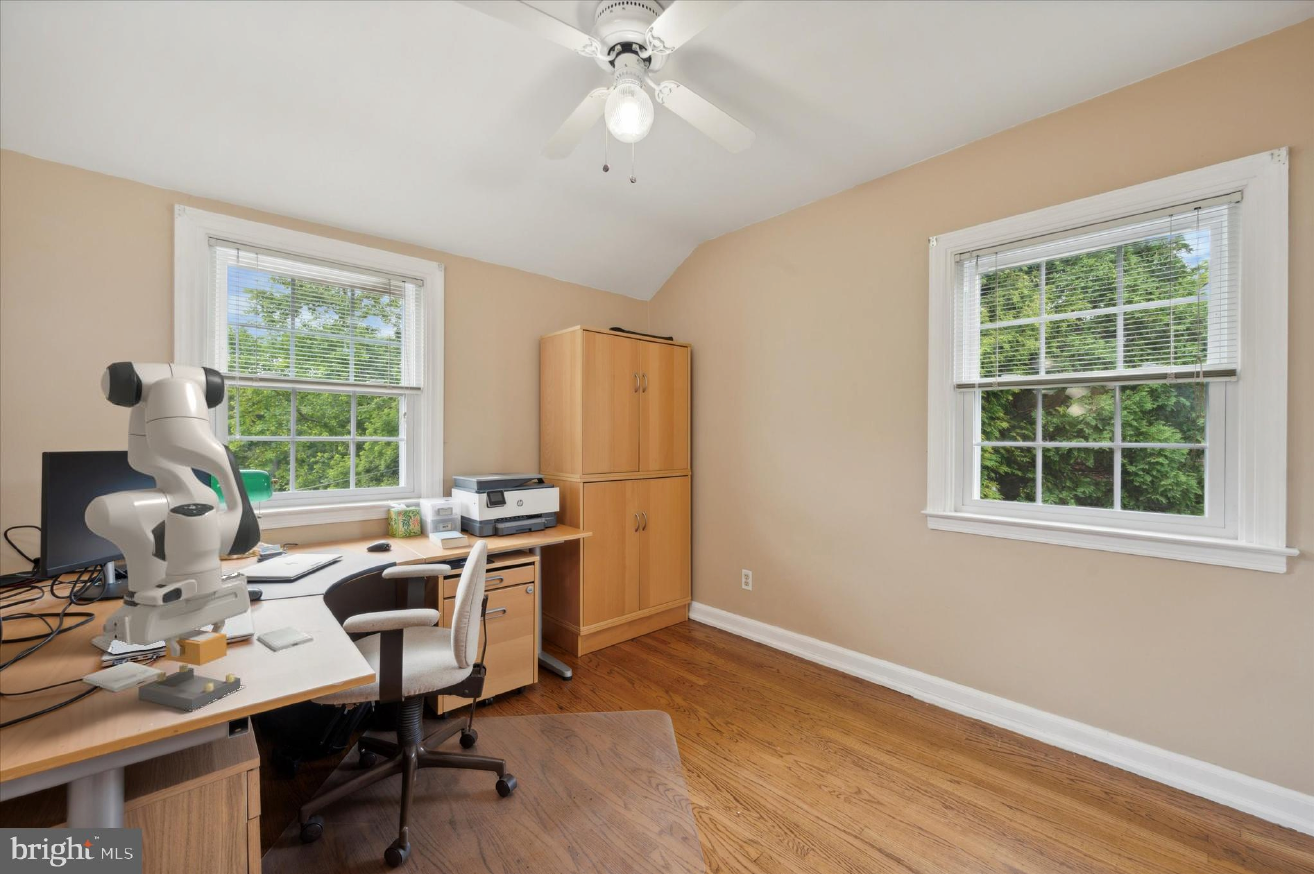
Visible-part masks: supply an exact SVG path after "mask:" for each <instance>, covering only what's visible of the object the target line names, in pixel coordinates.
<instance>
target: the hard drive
mask: <svg viewBox="0 0 1314 874" xmlns="http://www.w3.org/2000/svg"><path fill="white" fill-rule="evenodd" d="M257 640H258V641H259V642H261V643H263V644H264V645H265V646H266V647H269V649H271V650H272V651H274V650H275V651H274V652H276V653H278V652H280V650H281V651H283V649H285V650H288V649H290V648H294V647H297V646H300V645H305V644H307V643H311V642H314V637H312V636H311V635H309V634H307V633H305V632H304V631H303V630H301V629H299V628H297V627H296V626H293V625H291V626H287V627H285V628H281V629H280V628H279V629H276V630H273V631H269V632H267V633H266V632H265V633H262V634H259V635H258V636H257Z"/></svg>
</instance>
